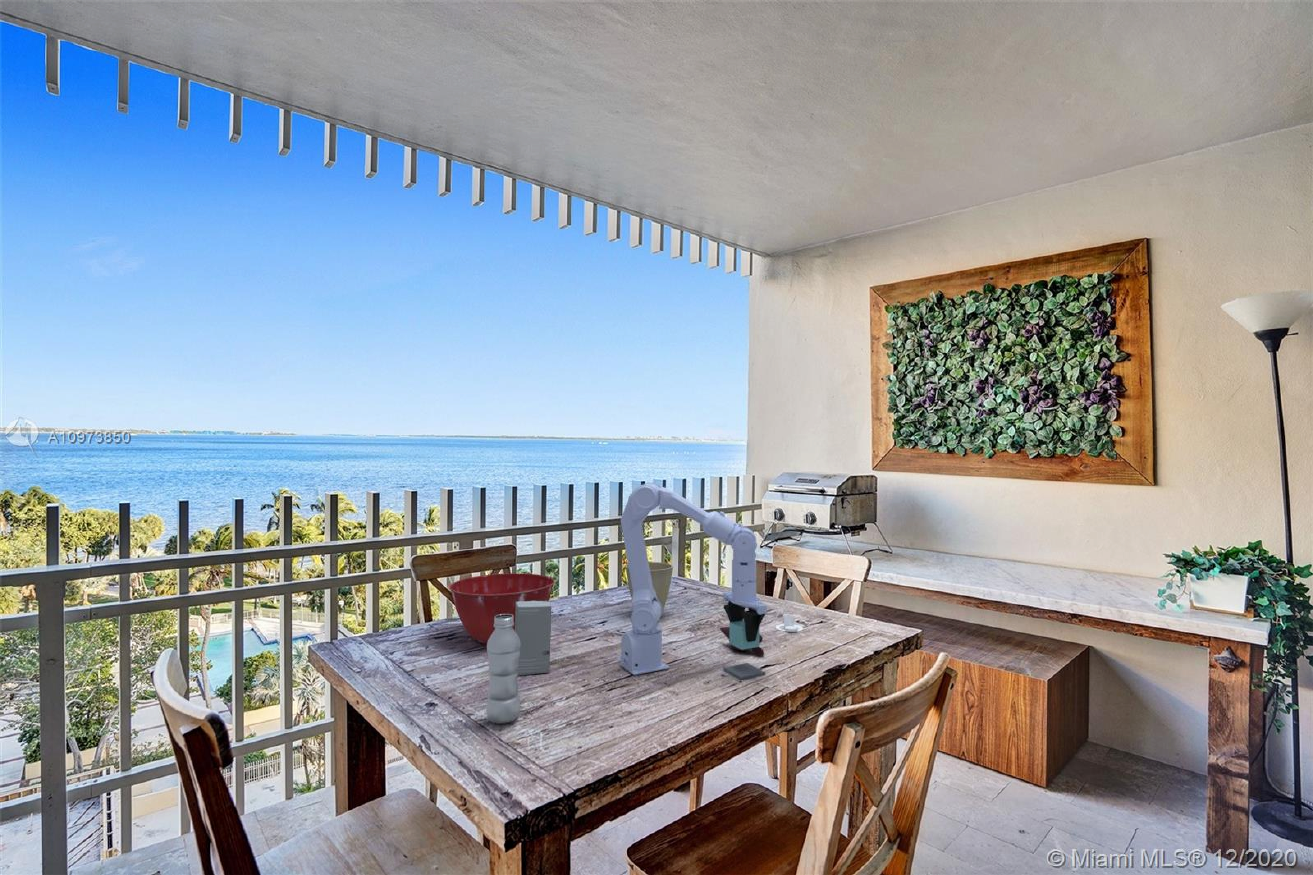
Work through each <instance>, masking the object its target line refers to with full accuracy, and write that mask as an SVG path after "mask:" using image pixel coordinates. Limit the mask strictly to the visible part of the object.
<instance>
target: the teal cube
mask: <svg viewBox="0 0 1313 875" xmlns="http://www.w3.org/2000/svg"><path fill="white" fill-rule="evenodd" d="M729 627H730V632H729V639H728V642H729V645H730V644H731V645H733V646H735V647H737V648H739V649H741V650H744V649H749V648H755V647H760V643H759V635H760V628H759V629H758V633H757V637H756V641H752V642H748V641H747V639H746V630H745V623H744V619H743V621H736V622H730V621H729Z"/></svg>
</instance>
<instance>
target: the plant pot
mask: <svg viewBox="0 0 1313 875" xmlns="http://www.w3.org/2000/svg"><path fill="white" fill-rule="evenodd" d="M648 562H649V568H650V574H651V579H652V585H653V588H654V590H655V592H656V597H657V599H658V601H659V602H660V603H661V605H662V609H663V611H664V609H665V606H666V603H667V600H668V596H669V591H670V587H671V583H672V576H673V568H674V565H672V564H671V563H666V562H660V561H659V562H658V561H648ZM625 572H626V580H627V585H628V589H629V590H628V591H629V595H630V598H631V599H632V598H633V589H632V583H631V578H630V572H629V566H628V564H626V565H625Z"/></svg>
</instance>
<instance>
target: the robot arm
mask: <svg viewBox="0 0 1313 875" xmlns="http://www.w3.org/2000/svg"><path fill="white" fill-rule="evenodd" d="M656 508H658V510H674V511H676V512H677V513H679V514H681V515H683V516H685V517H687V518H688V519H691V520H693V521H695V522H696V523H698V524H700V525H701V527H702V530H703V533H705V534H707V535H708V536H710V537H711V538H714V539H716V540H717V541H718V542H720V543H722V544H724V545H726V546H731V549H732V559H731V591H726V592H723V593H722V600H723V602H728V603H727V604H723V609H724V612H725V613H726V615H727V618H728V621H729V623H730V622H736V621H743V620H744V623H745V630H746V639H747V641H748V642H752V641H756V637H757V633H758V629H759V630H760V625H761V623H762V621H763V620H764V618H765V616H766V614H768V613H767V612H768V611H767V610H768V609H767V608H768V606H767V604H765V603H763V602H762V601H761V600H760V597H759V596H757V560H756V558H757V554H756V553H757V552H756V549H757V546H758V543H757V537H756V534H755V532H753V530H751V529H750V527H747V526H743V523H741V522H739V523H737V522H736V521H734V520H732V519H730V518H729V517H727V516H726V513H725V512H723V511H720V512H718V511H717V510H716V511H715V510H714V511H711V512H707V511H705V510H704V509H702V508H701V507H700V506H697V505H696V504H695V503H693V502H691V501H689V500H688V499H686V498H685V497H683V496H682V495H680V494H678V493H676V492H675V491H673V490H671V489H669V488H667V487H665V486H664V487H663V486H660V485H659V484H658V483H655V482H646V483H645V484H640V485H638V486H637V487H636V488H635V489H633V491H632V492H631V493H630V494H629V496H628V498H627V503H626V505H625V507H624V509H623V513H622V514H621V517H620V524H621V530H622V536H623V542H624V547H625V548H624V549H625V553H626V555H625V556H626V559H627V565H628V566H629V572H630V578H631V583H632V589H633V598H631V601H632V602H631V604H632V613H631V616H630V623H631V625H632V627H631V630H630V631H627V632H625V633H623V634H622V636H621V641H620V642H621V643H620V644H621V645H620V646H621V647H620V648H621V652H620V654H621V656H620V660H621V662H620V663H619V665H620V666H621V667H622V668H624V669H625V670H626V671H627V672H629V673H630V674H631V675H633V676H637V675H641V674H646V673H652V672H658V671H662V670H669V669H670V668H669V667H670V666H669V665H668V664H666V663H664V662H663V650H662V649H663V627H662V625H661V624H660V622H659V620H660V619H661V617H662V616H663V612H664V610H663V609H662V605H661V603H660V602H659V601H658V599H657V597H656V592H655V590H654V588H653V585H652V579H651V574H650V568H649V562H650V561H649V557H648V552H647V547H646V541H645V540H646V539H645V536H644V529H643V522H644V520H645V519H646V518H647V517H648V516H649V514H650V513H651V511H653V510H655V509H656ZM746 609H747V610H746Z"/></svg>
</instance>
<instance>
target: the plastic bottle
mask: <svg viewBox="0 0 1313 875" xmlns="http://www.w3.org/2000/svg"><path fill="white" fill-rule="evenodd" d="M513 618H514V617H513V615H512V614H500V615H496V616H495V618H494V627H495V630H494V632H493V633H492V635H491V636H490V638H489V640H488V643H487V644H486V651H487V659H488V668H489V669H488V672H489V683H488V694H487V695H488V696H487V698H486V699H487V700H486V704H485V705H486V706H485V711H486V717H487V719H488V720H489V721H490V722H491V723H493V724H496V725H497V724H498V725H499V724H500V725H503V724H508V723H512V722H513V721H515V720H516V719H517V718H518V716H519V715H520V711H521V710H520V709H521V698H520V695H519V686H518V685H519V684H518V676H517V670H518V659H519V652H520V639H519V637H518V635H517V633H516V632H515V631H514V629H513V628H512V627H513V626H514V622H513Z"/></svg>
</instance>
